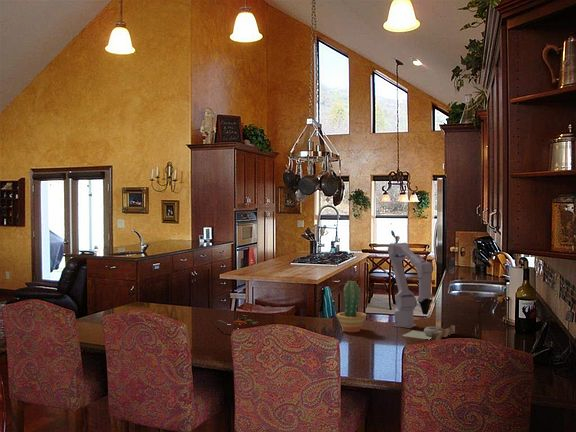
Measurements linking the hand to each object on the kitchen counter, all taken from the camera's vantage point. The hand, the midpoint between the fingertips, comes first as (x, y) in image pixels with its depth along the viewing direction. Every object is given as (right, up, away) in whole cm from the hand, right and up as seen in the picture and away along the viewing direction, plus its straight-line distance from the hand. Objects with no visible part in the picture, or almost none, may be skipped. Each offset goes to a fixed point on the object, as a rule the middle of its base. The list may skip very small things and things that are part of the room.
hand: (425, 314), depth 264 cm
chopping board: (-93, -11, +24) cm, 97 cm away
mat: (-3, -9, -4) cm, 11 cm away
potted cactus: (-35, -10, +9) cm, 38 cm away
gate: (+5, -9, -12) cm, 16 cm away
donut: (+1, -8, -1) cm, 8 cm away
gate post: (+12, -9, -4) cm, 16 cm away
